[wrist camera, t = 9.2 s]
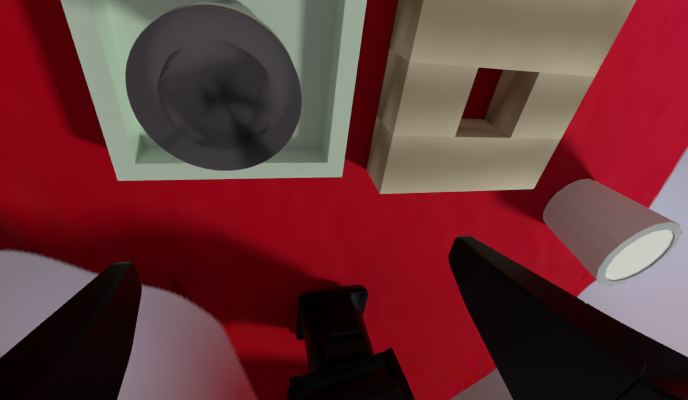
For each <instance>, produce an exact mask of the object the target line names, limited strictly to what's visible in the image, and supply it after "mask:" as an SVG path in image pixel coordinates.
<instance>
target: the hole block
mask: <svg viewBox="0 0 688 400" xmlns="http://www.w3.org/2000/svg"><path fill="white" fill-rule="evenodd" d="M635 2H636V0H398V5H397V10H396V16H395V21H394V26H393V32H392V37H391V42H390V48H389V53H388V58H387V64H386V69H385V74H384V80H383V85H382V90H381V95H380V101H379V106H378V111H377V117H376V122H375V127H374V133H373V138H372V143H371V149H370V154H369V159H368V165H367V172H368V173H369V175H370V177H371V179H372V181H373V182H374V184H375V186H376V188H377V190H378V191H379V193H380V194H390V193H422V192H454V191H486V190H519V189H534V187H535V186H536V184H537V182H538V180H539V178H540V176H541V175H542V173H543V171H544V169H545V167H546V165H547V163H548V162H549V160H550V158H551V156H552V154H553V152H554V151H555V149H556V147H557V145H558V143H559V141H560V140H561V138H562V136H563V134H564V132H565V130H566V129H567V127H568V125H569V123H570V121H571V119H572V118H573V116H574V114H575V112H576V110H577V108H578V107H579V105H580V103H581V101H582V99H583V97H584V95H585V94H586V92H587V90H588V88H589V86H590V84H591V83H592V81H593V79H594V77H595V75H596V73H597V72H598V70H599V68H600V66H601V64H602V62H603V61H604V59H605V57H606V55H607V53H608V51H609V50H610V48H611V46H612V44H613V42H614V40H615V39H616V37H617V35H618V33H619V31H620V29H621V27H622V26H623V24H624V22H625V20H626V18H627V16H628V15H629V13H630V11H631V9H632V7H633V5H634V4H635ZM479 67H481V68H493V69H503V71H502V73H501V76H500V79H499V81H498V84H497V86H496V89H495V92H494V94H493V97H492V99H491V102H490V105H489V107H488V110H487V112H486V115H485V118H484V119H461V117H462V114H463V112H464V109H465V106H466V103H467V100H468V97H469V94H470V91H471V88H472V85H473V82H474V79H475V76H476V74H477V71H478V68H479Z"/></svg>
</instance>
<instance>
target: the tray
mask: <svg viewBox="0 0 688 400" xmlns="http://www.w3.org/2000/svg"><path fill="white" fill-rule="evenodd" d="M217 1H220V0H61V3H62V6H63V9H64V12H65V16H66V19H67V22H68V25H69V28H70V31H71V34H72V38H73V41H74V44H75V47H76V50H77V53H78V56H79V60H80V63H81V66H82V69H83V72H84V75H85V79H86V82H87V85H88V88H89V91H90V94H91V97H92V101H93V104H94V107H95V110H96V113H97V116H98V120H99V123H100V126H101V129H102V132H103V135H104V138H105V142H106V145H107V148H108V151H109V154H110V157H111V160H112V164H113V167H114V170H115V173H116V176H117V179H118V181H127V180H187V179H248V178H308V177H342V173H343V166H344V159H345V152H346V145H347V138H348V131H349V124H350V117H351V110H352V103H353V95H354V88H355V81H356V74H357V67H358V60H359V53H360V46H361V39H362V32H363V24H364V17H365V10H366V3H367V0H231V1H236V2H239V3H241V4H243V5H244V6H246V7H247V8H249V9H250V10H251V11H252V12H253V13H254V14H255V16H256V17H257V18H258V19H259V20H261V21H262V22H263V23H264V24H265V25H267V26H268V27H269V28H270V29H271V30H272V31H273V32H274V33H275V34H276V35H277V37H278V38H279V39H280V41H281V42H282V43H283V45H284V46H285V48H286V50H287V51H288V53H289V55H290V58H291V60H292V62H293V65H294V67H295V69H296V72H297V74H298V78H299V81H300V86H301V93H302V106H301V114H300V118H299V122H298V124H297V127H296V129H295V132H294V133H293V135H292V137H291V139H290V140H289V141H288V142H287V144H286V145H285V146H284V147H283V148H282V149H281V150H280V151H279V152H278V153H277V154H276V155H274V156H273V157H272V158H270V159H268V160H267V161H265V162H263V163H261V164H258V165H256V166H253V167H250V168H246V169H241V170H234V171H217V170H210V169H205V168H201V167H197V166H194V165H191V164H188V163H186V162H184V161H182V160H180V159H178V158H176V157H174V156H173V155H171V154H169V153H168V152H166V151H165V150H164V149H163V148H161V147H160V146H159V145H158V144H157V143H156V142H155V141H153V140H152V139H151V138H150V137H149V135H148V134H147V133H146V132H145V130H144V129H143V128H142V126H141V125H140V123H139V122H138V120H137V119H136V117H135V115H134V112H133V110H132V108H131V105H130V102H129V99H128V96H127V90H126V82H125V72H126V64H127V60H128V56H129V53H130V50H131V48H132V46H133V44H134V42H135V40H136V39H137V38H138V36H139V35H140V34H141V32H142V31H143V30H144V29H145V28H146V27H147V26H148V25H149V24H151V23H152V22H153V21H155V20H156V19H157V18H159V17H160V16H162V15H163V14H165V13H166V12H168V11H169V10H171V9H174V8H176V7H178V6H181V5H185V4H189V3H194V2H217Z"/></svg>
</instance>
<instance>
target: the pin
mask: <svg viewBox="0 0 688 400" xmlns="http://www.w3.org/2000/svg"><path fill="white" fill-rule="evenodd" d="M125 82H126V90H127V96H128V99H129V102H130V105H131V108H132V110H133V112H134V115H135V117H136V119H137V120H138V122H139V123H140V125H141V126H142V128H143V129H144V130H145V132H146V133H147V134H148V135H149V137H150V138H151V139H152V140H153V141H155V142H156V143H157V144H158V145H159V146H160V147H161V148H163V149H164V150H165V151H166V152H168V153H169V154H171V155H173V156H174V157H176V158H178V159H180V160H182V161H184V162H186V163H188V164H191V165H194V166H197V167H201V168H205V169H210V170H217V171H234V170H241V169H246V168H250V167H253V166H256V165H258V164H261V163H263V162H265V161H267V160H268V159H270V158H272V157H273V156H274V155H276V154H277V153H278V152H279V151H280V150H281V149H282V148H283V147H284V146H285V145H286V144H287V142H288V141H289V140H290V139H291V137H292V135H293V133H294V132H295V129H296V127H297V124H298V122H299V118H300V114H301V106H302V93H301V86H300V81H299V78H298V74H297V72H296V69H295V67H294V65H293V62H292V60H291V58H290V55H289V53H288V51H287V50H286V48H285V46H284V45H283V43H282V42H281V41H280V39H279V38H278V37H277V35H276V34H275V33H274V32H273V31H272V30H271V29H270V28H269V27H268V26H267V25H265V24H264V23H263V22H262V21H261V20H259V19H258V18H257V17H256V16H255V14H254V13H253V12H252V11H251V10H250V9H249V8H247V7H246V6H244V5H243V4H241V3H239V2H236V1H231V0H220V1H217V2H194V3H189V4H185V5H181V6H178V7H176V8H174V9H171V10H169V11H168V12H166V13H165V14H163V15H162V16H160V17H159V18H157V19H156V20H155V21H153V22H152V23H151V24H149V25H148V26H147V27H146V28H145V29H144V30H143V31H142V32H141V34H140V35H139V36H138V38H137V39H136V40H135V42H134V44H133V46H132V48H131V50H130V53H129V56H128V60H127V64H126V72H125Z"/></svg>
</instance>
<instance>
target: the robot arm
mask: <svg viewBox="0 0 688 400" xmlns="http://www.w3.org/2000/svg"><path fill="white" fill-rule="evenodd" d="M448 259H449V264H450V267H451V269H452V272H453V274H454V277H455V280H456V282H457V285H458V287H459V290H460V293H461V295H462V298H463V300H464V303H465V305H466V307H467V309H468V311H469V313H470V315H471V317H472V319H473V321H474V323H475V325H476V327H477V329H478V331H479V333H480V335H481V337H482V339H483V341H484V343H485V345H486V347H487V349H488V351H489V353H490V355H491V357H492V359H493V361H494V363H495V365H496V367H497V369H498V371H499V372H500V374H501V376H502V379H503V380H504V382H505V384H506V386H507V388H508V390H509V392H510V394H511V396H512V398H513V400H688V357H686V356H684V355H682V354H680V353H678V352H676V351H675V350H672V349H671V348H669V347H667V346H665V345H663V344H661V343H659V342H657V341H655V340H653V339H651V338H649V337H647V336H645V335H644V334H642V333H640V332H638V331H636V330H634V329H632V328H630V327H628V326H626V325H625V324H623V323H621V322H619V321H617V320H615V319H614V318H612V317H610V316H608V315H606V314H605V313H603V312H601V311H599V310H598V309H596V308H594V307H593V306H591V305H589V304H587V303H586V304H585V302H583V301H582V300H580V299H579V298H577V297H575V296H573V295H572V294H570V293H568V292H566V291H565V290H563V289H561V288H560V287H558V286H556V285H554V284H553V283H551V282H549V281H547V280H546V279H544V278H542V277H540V276H539V275H537V274H535V273H534V272H532V271H530V270H528V269H527V268H525V267H523V266H521V265H520V264H518V263H516V262H514V261H513V260H511V259H509V258H508V257H506V256H504V255H502V254H501V253H499V252H497V251H495V250H494V249H492V248H490V247H488V246H487V245H485V244H483V243H482V242H480V241H478V240H476V239H475V238H473V237H471V236H458V237H457V238H456V239H455V240H454V243H453V246H452V248H451V251H450V253H449V258H448ZM141 292H142V286H141V282H140V279H139V276H138V273H137V271H136V268H135V265H134V264H133V263H132V262H118V263H113V264H111V265H110V266H109V267H107V268H106V269H105V270H104V271H103V272H102V273H100V274H99V275H98V276H97V277H96V278H94V279H93V280H92V281H91V282H90V283H89V284H87V285H86V286H85V287H84V288H83V289H82V290H80V291H79V292H78V293H77V294H76V295H74V296H73V297H72V298H71V299H70V300H68V301H67V302H66V303H65V304H64V305H63V306H61V307H60V308H59V309H58V310H57V311H55V312H54V313H53V314H52V315H51V316H49V317H48V318H47V319H46V320H45V321H44V322H42V323H41V324H40V325H39V326H38V327H36V328H35V329H34V330H33V331H32V332H31V333H29V334H28V335H27V336H26V337H25V338H24V339H22V340H21V341H20V342H19V343H18V344H16V345H15V346H14V347H13V348H12V349H10V350H9V351H8V352H7V353H6V354H5V355H3V356H2V357H1V358H0V400H117V398H118V394H119V391H120V388H121V384H122V381H123V378H124V375H125V371H126V368H127V365H128V361H129V357H130V354H131V350H132V345H133V338H134V334H135V328H136V322H137V315H138V310H139V305H140V299H141ZM367 297H368V292H367V289H365V288H360V289H351V290H341V291H332V292H323V293H314V294H305V295H301V296H300V297H299V299H298V312H297V327H296V338H297V339H298V340H305V346H306V353H307V360H308V367H309V374H306V375H302V376H299V377H297V376H295V377H291V378H290V388H289V389H288V390H287V399H288V400H414V397H413V394H412V392H411V390H410V387H409V385H408V383H407V380H406V378H405V376H404V374H403V371H402V369H401V367H400V365H399V363H398V360H397V358H396V356H395V354H394V351H393V349H392V348H390V349H386V351H384V352H380V353H377V354H374V351H373V348H372V345H371V342H370V339H369V335H368V332H367V329H366V326H365V323H364V320H363V317H362V316H363V312H364V309H365V305H366V301H367Z"/></svg>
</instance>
